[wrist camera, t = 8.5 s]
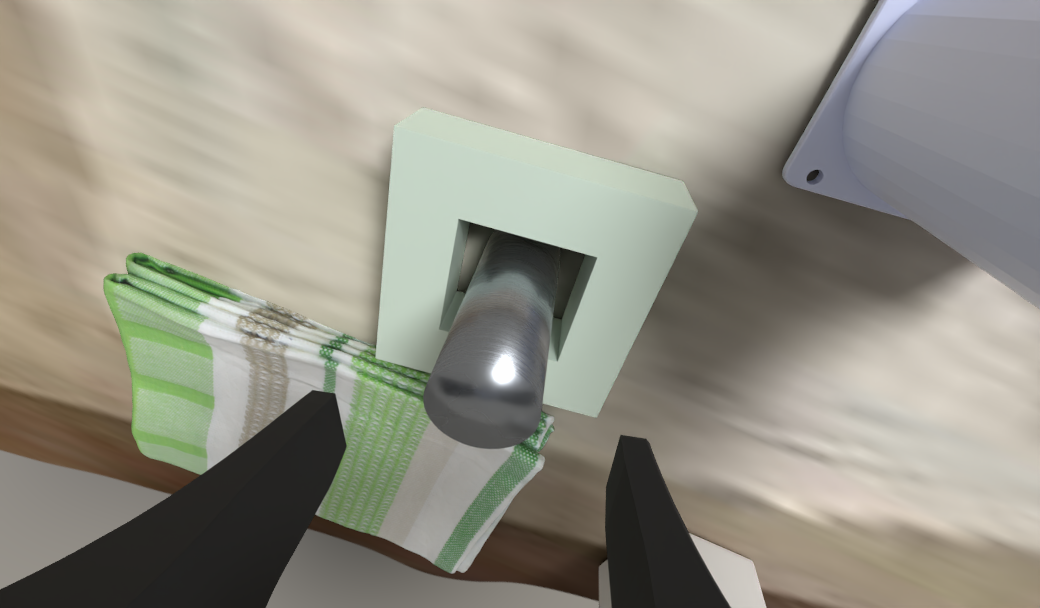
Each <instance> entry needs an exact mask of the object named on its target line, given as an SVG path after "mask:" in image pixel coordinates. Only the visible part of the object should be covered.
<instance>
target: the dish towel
mask: <svg viewBox="0 0 1040 608" xmlns="http://www.w3.org/2000/svg"><path fill="white" fill-rule="evenodd" d="M126 267H127V271H128V274H110V275H107V276H106V277H105V278H104V293H105V296H106V298H107V301H108V304H109V306H110V309H111V311H112V313H113V316H114V318H115V320H116V323H117V325H118V328H119V331H120V335H121V338H122V342H123V344H124V347H125V350H126V355H127V361H128V364H129V368H130V372H131V377H132V397H133V398H132V403H133V410H132V434H133V436H134V438H135V440H136V442H137V445H138V448H139V450H140V451H141V453H143V454H144V455H145V456H147V457H149V458H152V459H156V460H160V461H164V462H167V463H170V464H173V465H176V466H179V467H181V468H184V469H186V470H189V471H192V472H195V473H197V474H200V475H202V474H203V473H204V472H206V471H207V470H209V469H210V468H212V467H213V466H214V465H216V464H217V463H219V462H220V461H221V460H223V459H224V458H225V457H227V456H228V455H230V454H231V453H232V452H234V451H235V450H236V449H237V448H239V447H240V446H241V445H243V444H244V443H245V442H247V441H248V440H249V439H251V438H252V437H253V436H254V435H256V434H257V433H258V432H260V431H261V430H262V429H263V428H265V427H266V426H267V425H269V424H270V423H271V422H272V421H274V420H275V419H276V418H277V417H279V416H280V415H281V414H282V413H284V412H285V411H286V410H287V409H289V408H290V407H291V406H293V405H294V404H295V403H296V402H298V401H299V400H300V399H301V398H303V397H304V396H305V395H307V394H308V393H309V392H311V391H312V390H316V391H323V392H330V393H335V394H336V399H337V403H338V408H339V413H340V417H341V422H342V426H343V431H344V436H345V440H346V445H347V448H346V450H345V453H344V455H343V458H342V460H341V463H340V465H339V468H338V470H337V473H336V475H335V477H334V480H333V482H332V484H331V486H330V488H329V490H328V492H327V494H326V496H325V497H324V499H323V501H322V503H321V505H320V506H319V508H318V510H317V512H316V515H317V516H319V517H322V518H324V519H327V520H330V521H333V522H335V523H338V524H340V525H343V526H345V527H347V528H351V529H354V530H357V531H360V532H364V533H370V534H371V535H374V536H378V537H381V538H384V539H387V540H389V541H391V542H393V543H395V544H397V545H399V546H401V547H403V548H405V549H407V550H409V551H412V552H414V553H417V554H419V555H421V556H423V557H425V558H426V559H428V560H429V561H431V562H432V563H433V564H434V565H436V566H438V567H439V568H441V569H443V570H445V571H447V572H449V573H455V571H456V570H457V571H460V572H462V573H463V572H465V571H467V569H468V567H469V566H470V565H471V564H472V562H473V560H474V559H475V557H476V555H477V554H478V553H479V552H480V550H481V548H482V546H483V545H484V543H485V541H486V540H487V538H488V537H489V535H490V534H491V532H492V531H493V529H494V528H495V526H496V525H497V524H498V522H499V521H500V519H501V518H502V516H503V515H504V513H505V511H506V510H507V508H508V507H509V505H510V503H511V502H512V500H513V498H514V497H515V496H516V495H517V493H518V492H519V491H520V490H521V489H522V488H523V487H524V486H525V485H526V484H527V483H528V482H529V481H530V480H531V479H533V477H534V476H535V474H536V473H538V472H539V471H541V470H542V468H543V465H544V461H545V458H544V456H542V455H541V454H539V453H538V452H539V451H540V450H541V449H542V448H543V447H544V445H545V444H546V442H547V440H548V438H549V436H550V433H552V432H553V431H554V427H553V425H552V423H553V421H554V417H553V416H551V415H547V414H545V413H544V412H542V411H541V418H540V423H539V425H538V427H537V429H536V431H535V432H534V433H533V434H532V436H530V437H529V438H528V439H527V440H525V441H523V442H522V443H520V444H517V445H515V446H512V447H508V448H502V449H483V448H477V447H472V446H468V445H465V444H463V443H460V442H458V441H456V440H454V439H452V438H450V437H448V436H447V435H446V434H444V433H443V432H442V431H440V430H439V429H438V428H437V427H436V426H435V425H434V424H433V422H432V421H431V420H430V418H429V417H428V415H427V413H426V410H425V408H424V403H423V394H424V390H425V387H426V384H427V382H428V380H429V377H430V375H431V373H428V372H424V371H420V370H417V369H413V368H409V367H405V366H402V365H398V364H394V363H391V362H387V361H383V360H379V359H376V358H375V357H376V346H375V345H372V344H369V343H366V342H363V341H360V340H357V339H356V338H354V337H351V336H349V335H346V334H344V333H342V332H340V331H337V330H334V329H331V328H329V327H327V326H324V325H322V324H320V323H317V322H315V321H313V320H311V319H308V318H306V317H304V316H302V315H300V314H298V313H295V312H292V311H290V310H288V309H285V308H283V307H280V306H277V305H275V304H273V303H271V302H268V301H265V300H262V299H259V298H255V297H252V296H250V295H248V294H245V293H243V292H241V291H239V290H236V289H232V288H229V287H227V286H225V285H222V284H220V283H217V282H215V281H213V280H210V279H208V278H205V277H203V276H200V275H198V274H195V273H193V272H190V271H187V270H185V269H182V268H180V267H177V266H175V265H172V264H169V263H166V262H162V261H160V260H158V259H156V258H153V257H151V256H148V255H145V254H143V253H132V254H130V255H128V256H127V258H126Z"/></svg>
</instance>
